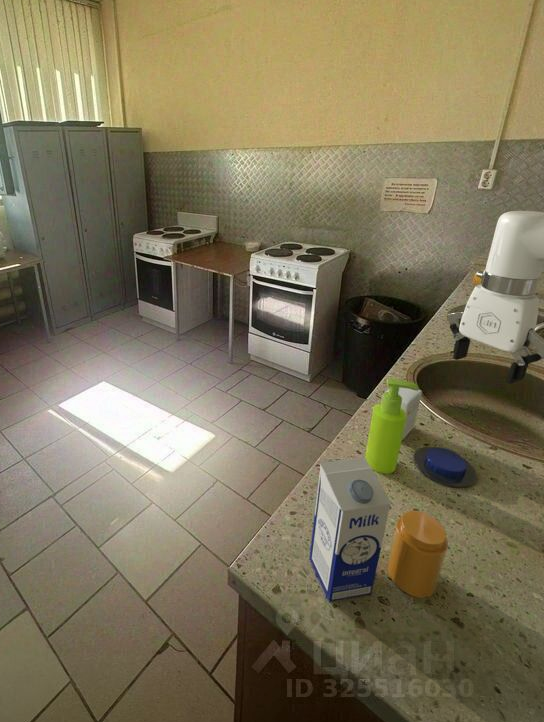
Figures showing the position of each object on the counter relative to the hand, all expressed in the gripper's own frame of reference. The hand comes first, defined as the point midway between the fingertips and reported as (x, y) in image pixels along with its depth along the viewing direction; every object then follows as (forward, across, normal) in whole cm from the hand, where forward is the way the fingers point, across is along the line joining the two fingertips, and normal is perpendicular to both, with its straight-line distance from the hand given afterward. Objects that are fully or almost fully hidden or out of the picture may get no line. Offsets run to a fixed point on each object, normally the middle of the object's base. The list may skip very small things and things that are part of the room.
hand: (484, 369), depth 75 cm
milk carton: (+22, +8, -40) cm, 47 cm away
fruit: (+22, -68, +119) cm, 139 cm away
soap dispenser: (+22, -6, -15) cm, 28 cm away
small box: (+22, -13, -3) cm, 26 cm away
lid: (+20, 0, -4) cm, 21 cm away
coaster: (+22, 0, -4) cm, 23 cm away
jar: (+22, +12, -30) cm, 40 cm away
